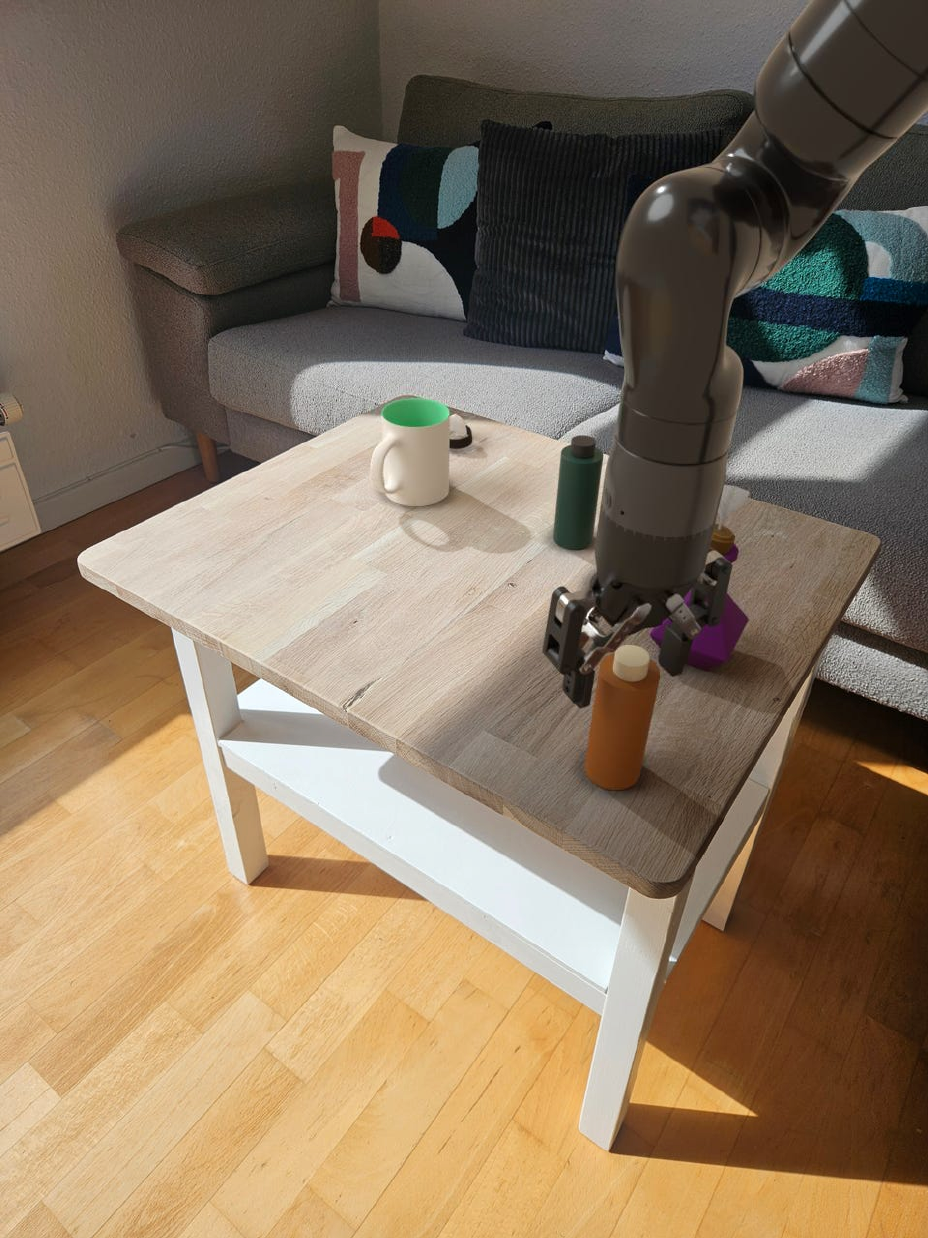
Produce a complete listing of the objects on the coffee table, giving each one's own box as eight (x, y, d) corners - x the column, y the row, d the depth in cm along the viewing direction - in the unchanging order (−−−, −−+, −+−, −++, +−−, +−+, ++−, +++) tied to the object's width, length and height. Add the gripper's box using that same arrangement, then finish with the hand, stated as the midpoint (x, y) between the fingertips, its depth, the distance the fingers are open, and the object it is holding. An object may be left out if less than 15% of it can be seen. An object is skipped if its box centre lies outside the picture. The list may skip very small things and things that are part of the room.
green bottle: (588, 528, 103) (600, 430, 95) (596, 549, 99) (609, 450, 91) (549, 528, 102) (559, 431, 95) (556, 550, 99) (565, 450, 91)
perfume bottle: (719, 688, 81) (764, 522, 70) (643, 661, 84) (675, 498, 73) (742, 644, 86) (787, 483, 75) (670, 620, 89) (702, 462, 78)
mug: (408, 527, 102) (405, 446, 96) (352, 508, 105) (347, 429, 99) (461, 484, 110) (462, 408, 104) (408, 468, 113) (406, 392, 107)
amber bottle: (632, 748, 75) (655, 635, 67) (645, 789, 71) (670, 674, 63) (579, 750, 74) (596, 637, 67) (590, 791, 71) (608, 677, 63)
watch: (480, 445, 119) (481, 420, 117) (455, 455, 116) (456, 430, 114) (443, 426, 123) (443, 402, 121) (418, 436, 121) (417, 412, 119)
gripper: (599, 556, 52) (571, 745, 62) (782, 506, 57) (729, 688, 67) (536, 497, 57) (520, 680, 67) (709, 456, 62) (670, 632, 72)
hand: (624, 684), depth 67 cm, fingers open, 8 cm apart
